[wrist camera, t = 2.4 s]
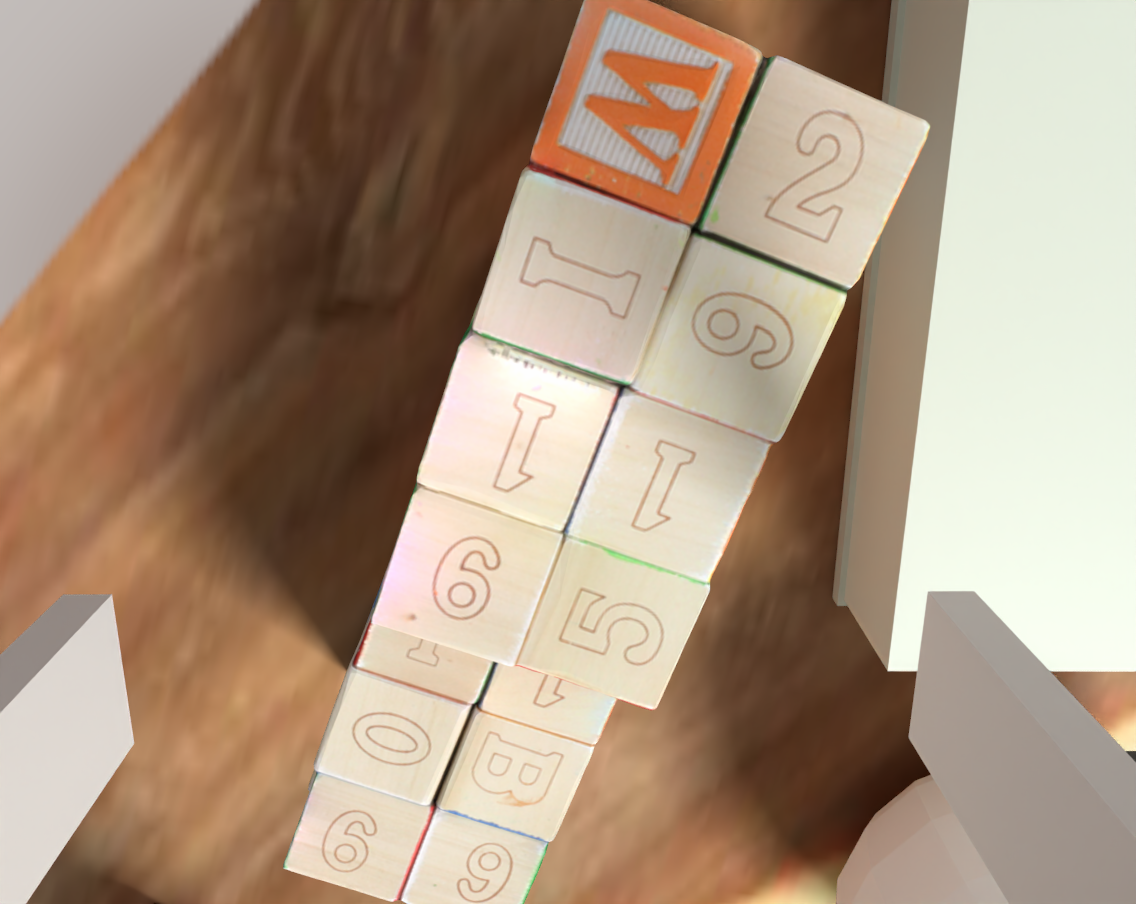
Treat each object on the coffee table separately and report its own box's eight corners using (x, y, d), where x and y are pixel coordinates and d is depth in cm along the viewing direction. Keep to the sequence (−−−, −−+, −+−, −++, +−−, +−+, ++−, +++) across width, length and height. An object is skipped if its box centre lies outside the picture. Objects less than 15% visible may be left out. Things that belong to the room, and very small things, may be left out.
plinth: (1287, -272, 25) (1459, -368, 20) (1115, 598, 32) (1211, 677, 28) (919, -276, 25) (1004, -374, 20) (832, 597, 32) (879, 677, 28)
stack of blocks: (520, 732, 34) (501, 1046, 22) (347, 675, 33) (232, 969, 21) (783, 126, 28) (946, 119, 16) (578, 39, 27) (594, -34, 15)
